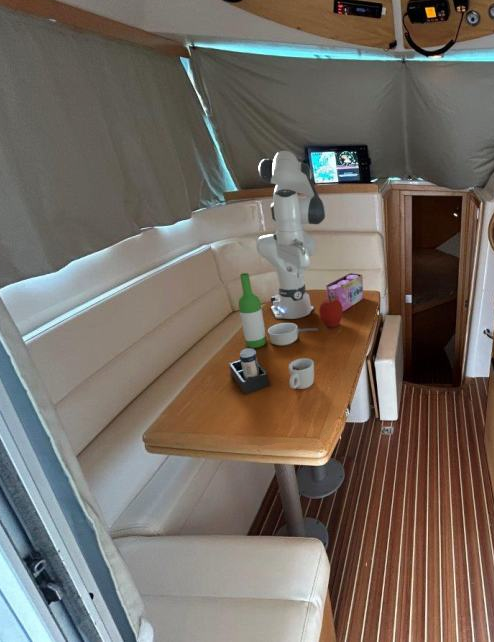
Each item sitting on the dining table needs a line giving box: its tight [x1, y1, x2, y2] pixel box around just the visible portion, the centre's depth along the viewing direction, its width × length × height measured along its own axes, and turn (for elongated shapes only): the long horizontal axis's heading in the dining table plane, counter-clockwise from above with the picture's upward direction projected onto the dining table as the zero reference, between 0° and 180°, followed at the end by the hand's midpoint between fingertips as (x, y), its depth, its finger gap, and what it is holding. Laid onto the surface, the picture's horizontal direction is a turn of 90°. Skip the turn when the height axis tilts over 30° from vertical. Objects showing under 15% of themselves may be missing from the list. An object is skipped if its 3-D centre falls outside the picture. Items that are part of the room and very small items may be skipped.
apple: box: [318, 298, 343, 328], centre depth 162 cm, size 10×10×14 cm
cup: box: [287, 357, 315, 390], centre depth 118 cm, size 11×8×8 cm
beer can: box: [239, 347, 260, 380], centre depth 118 cm, size 5×5×12 cm
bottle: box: [238, 272, 268, 349], centre depth 141 cm, size 8×8×30 cm
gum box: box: [325, 272, 365, 313], centre depth 185 cm, size 24×8×14 cm, turn 159°
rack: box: [228, 359, 270, 395], centre depth 122 cm, size 15×8×5 cm, turn 43°
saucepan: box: [267, 322, 319, 346], centre depth 149 cm, size 12×20×6 cm, turn 92°
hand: (295, 274), depth 133 cm, fingers open, 8 cm apart
